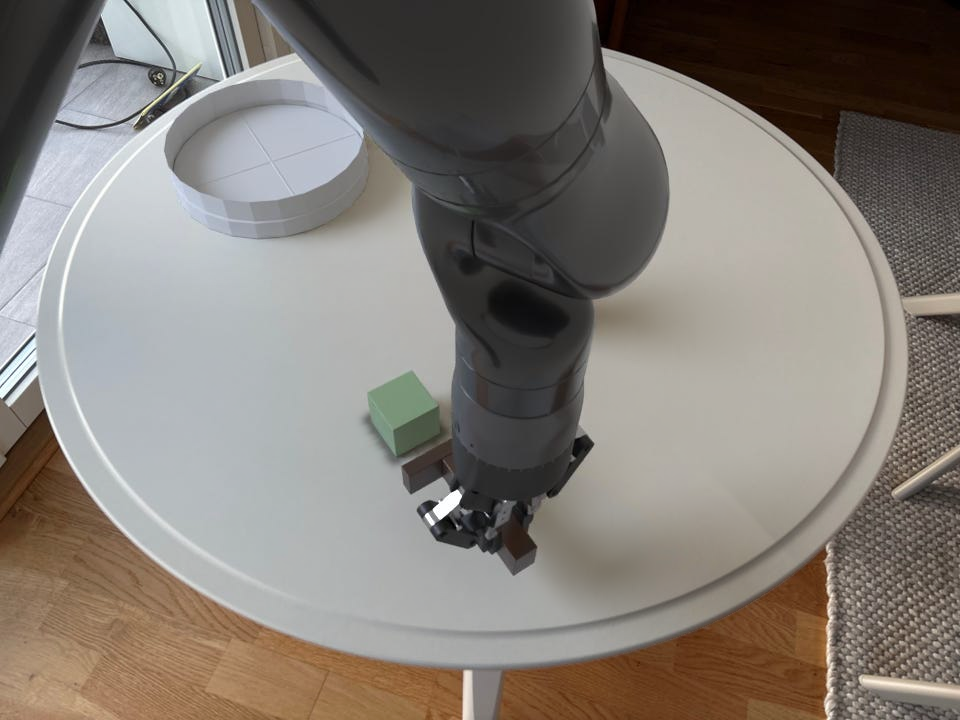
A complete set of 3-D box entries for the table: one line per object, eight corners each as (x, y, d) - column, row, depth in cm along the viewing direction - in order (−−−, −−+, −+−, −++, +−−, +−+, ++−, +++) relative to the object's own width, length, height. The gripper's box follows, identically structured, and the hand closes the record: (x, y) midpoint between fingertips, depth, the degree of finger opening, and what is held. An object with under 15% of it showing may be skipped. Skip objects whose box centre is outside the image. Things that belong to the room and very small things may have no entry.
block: (439, 433, 69) (439, 405, 66) (396, 457, 68) (393, 430, 64) (413, 398, 72) (411, 369, 68) (371, 420, 70) (366, 392, 66)
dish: (150, 147, 92) (136, 111, 88) (322, 94, 99) (317, 59, 95) (213, 266, 81) (201, 230, 77) (402, 196, 88) (400, 161, 84)
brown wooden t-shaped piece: (566, 542, 60) (570, 525, 58) (480, 598, 57) (480, 583, 55) (485, 437, 65) (486, 418, 63) (403, 484, 63) (400, 465, 60)
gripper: (449, 519, 41) (452, 625, 55) (646, 402, 46) (603, 526, 60) (380, 419, 45) (399, 541, 59) (569, 320, 50) (545, 455, 64)
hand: (502, 533), depth 59 cm, fingers closed on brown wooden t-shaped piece, 2 cm apart
